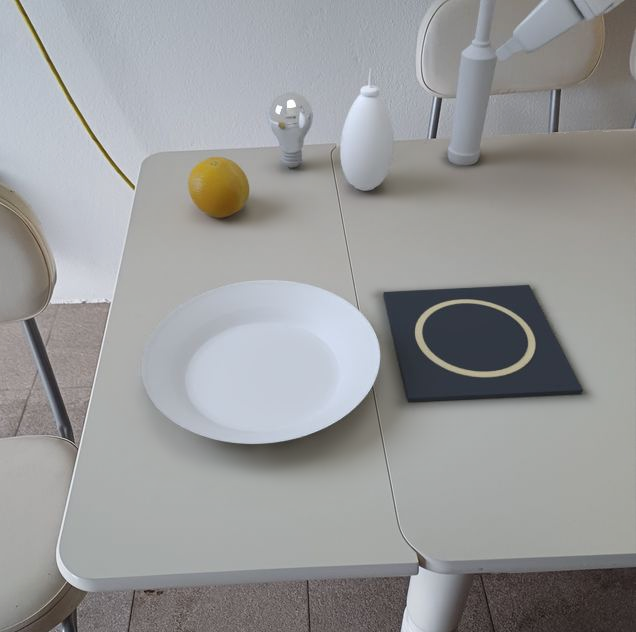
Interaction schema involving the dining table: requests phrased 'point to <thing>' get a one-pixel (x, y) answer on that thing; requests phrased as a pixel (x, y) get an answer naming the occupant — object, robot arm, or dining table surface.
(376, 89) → the sauce bottle
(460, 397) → the mat
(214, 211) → the fruit
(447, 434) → the dining table surface
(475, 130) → the bottle
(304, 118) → the light bulb
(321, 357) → the white plate
